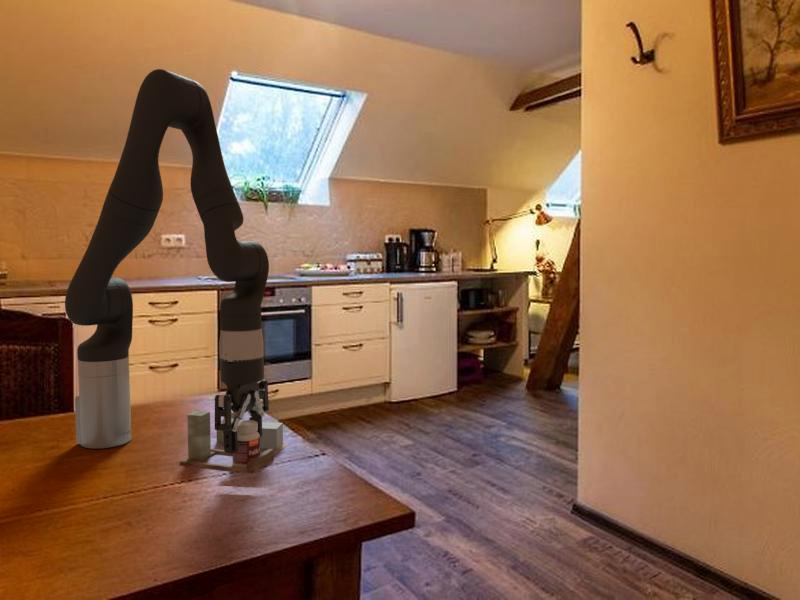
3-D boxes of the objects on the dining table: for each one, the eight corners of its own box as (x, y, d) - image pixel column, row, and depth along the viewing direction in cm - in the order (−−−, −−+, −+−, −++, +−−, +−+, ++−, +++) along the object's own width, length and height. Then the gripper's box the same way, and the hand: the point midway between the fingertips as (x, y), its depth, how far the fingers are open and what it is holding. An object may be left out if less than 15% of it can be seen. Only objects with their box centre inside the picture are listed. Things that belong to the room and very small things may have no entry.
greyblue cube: (256, 448, 116) (256, 428, 115) (263, 441, 120) (263, 422, 119) (276, 449, 115) (276, 428, 115) (283, 442, 119) (282, 422, 119)
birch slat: (214, 447, 119) (213, 423, 118) (224, 442, 122) (223, 418, 122) (281, 455, 115) (280, 429, 114) (289, 449, 118) (289, 424, 118)
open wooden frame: (179, 467, 107) (178, 418, 106) (204, 454, 114) (203, 407, 114) (252, 476, 103) (252, 425, 102) (273, 461, 110) (273, 413, 110)
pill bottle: (253, 474, 105) (252, 427, 104) (228, 472, 106) (227, 425, 105) (264, 465, 110) (264, 420, 109) (240, 463, 110) (239, 418, 110)
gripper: (243, 347, 114) (245, 431, 115) (199, 360, 100) (202, 455, 102) (279, 349, 112) (281, 434, 113) (239, 362, 98) (241, 459, 100)
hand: (244, 444), depth 107 cm, fingers open, 8 cm apart
